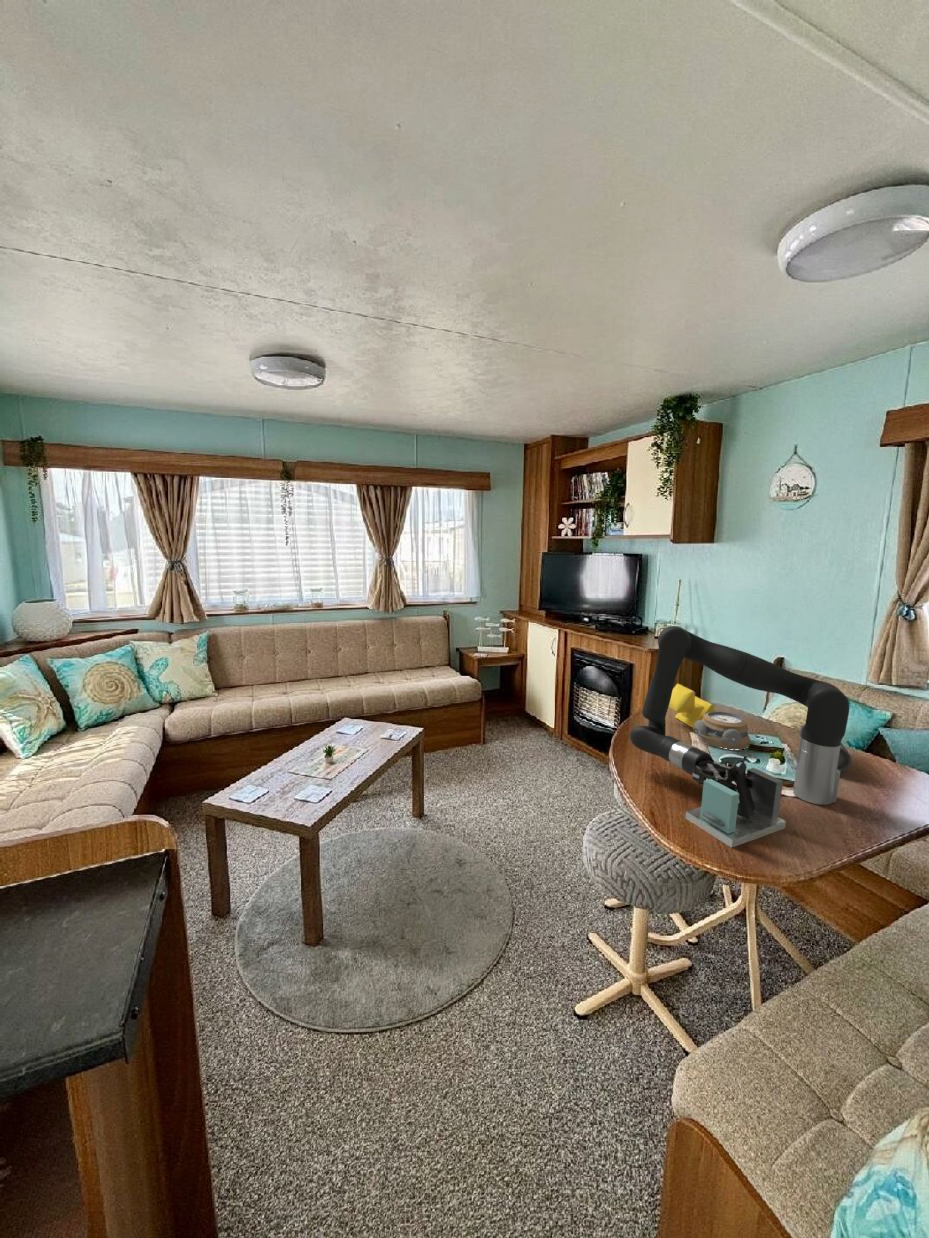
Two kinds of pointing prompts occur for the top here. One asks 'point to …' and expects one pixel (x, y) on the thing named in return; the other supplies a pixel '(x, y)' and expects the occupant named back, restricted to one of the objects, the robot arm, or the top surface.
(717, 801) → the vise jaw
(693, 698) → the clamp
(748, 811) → the phone stand
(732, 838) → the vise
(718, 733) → the alarm clock
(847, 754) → the bluetooth speaker
